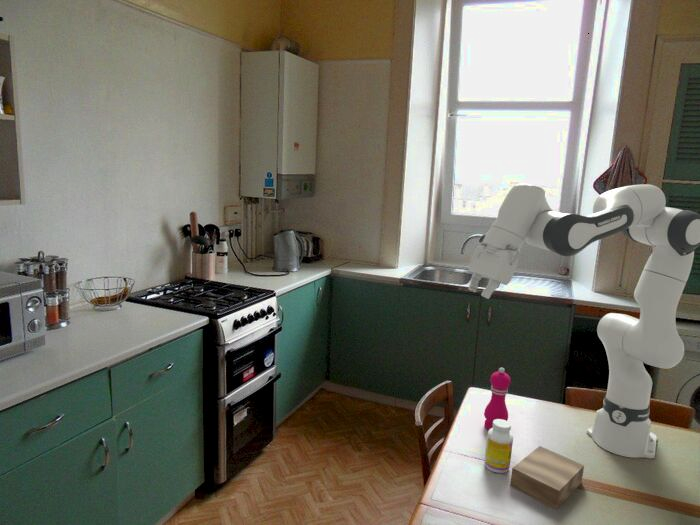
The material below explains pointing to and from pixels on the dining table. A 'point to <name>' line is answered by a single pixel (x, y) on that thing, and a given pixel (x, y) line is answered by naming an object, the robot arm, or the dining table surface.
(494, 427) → the supplement bottle
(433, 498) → the dining table surface
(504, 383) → the pepper mill
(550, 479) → the walnut stand
